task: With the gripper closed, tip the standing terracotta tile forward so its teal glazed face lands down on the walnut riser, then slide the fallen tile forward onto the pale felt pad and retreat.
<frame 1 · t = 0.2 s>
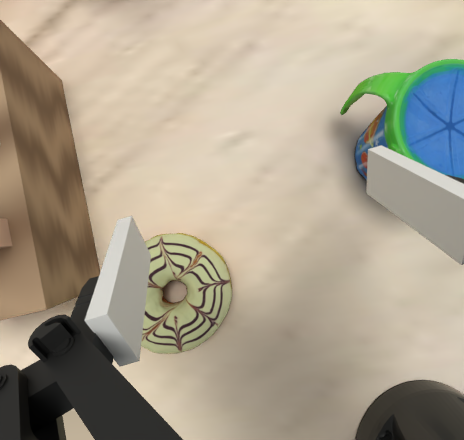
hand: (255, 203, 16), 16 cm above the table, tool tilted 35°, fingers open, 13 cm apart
decorated donut: (176, 287, 31), on the table
riser: (35, 190, 31), on the table
snack cup: (383, 158, 33), on the table
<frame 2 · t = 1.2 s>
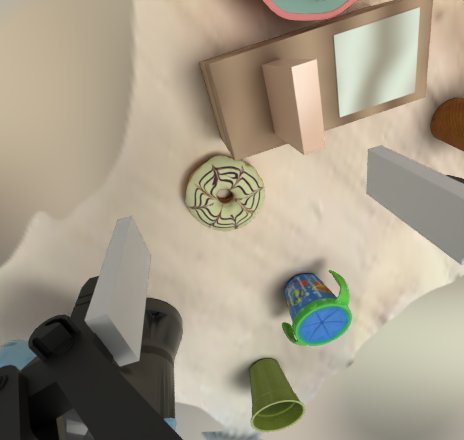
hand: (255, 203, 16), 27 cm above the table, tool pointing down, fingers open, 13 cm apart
plant pot: (263, 366, 70), on the table
decorated donut: (222, 188, 45), on the table
disposable coffee cup: (447, 118, 47), on the table
riser: (292, 76, 39), on the table
tile: (277, 98, 30), point 10 cm above the table, touching riser
snack cup: (300, 285, 59), on the table
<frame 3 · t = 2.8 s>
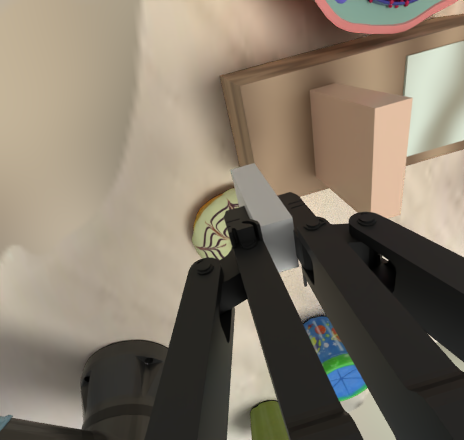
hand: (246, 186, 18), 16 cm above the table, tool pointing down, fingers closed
plant pot: (265, 408, 63), on the table
decorated donut: (236, 223, 38), on the table
riser: (331, 98, 32), on the table
tile: (324, 133, 23), point 10 cm above the table, touching riser
snack cup: (315, 327, 52), on the table
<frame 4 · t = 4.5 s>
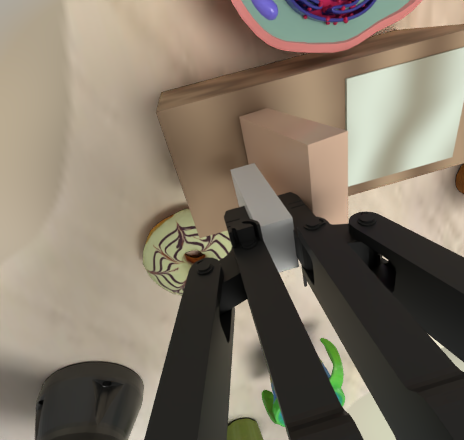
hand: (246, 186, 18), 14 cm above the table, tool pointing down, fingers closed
plant pot: (239, 425, 61), on the table
decorated donut: (194, 243, 36), on the table
riser: (287, 114, 30), on the table
tile: (261, 161, 21), point 10 cm above the table, tilted 10°, touching riser
snack cup: (286, 346, 50), on the table
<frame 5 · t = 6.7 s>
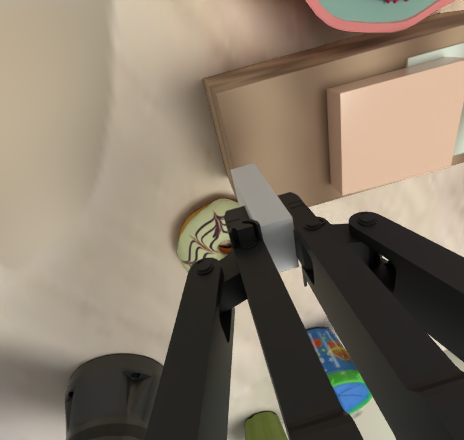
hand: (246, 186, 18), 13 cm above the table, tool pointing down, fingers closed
plant pot: (260, 419, 61), on the table
decorated donut: (225, 234, 36), on the table
riser: (325, 101, 29), on the table
tile: (334, 145, 20), point 11 cm above the table, tilted 88°, touching riser
snack cup: (311, 339, 50), on the table
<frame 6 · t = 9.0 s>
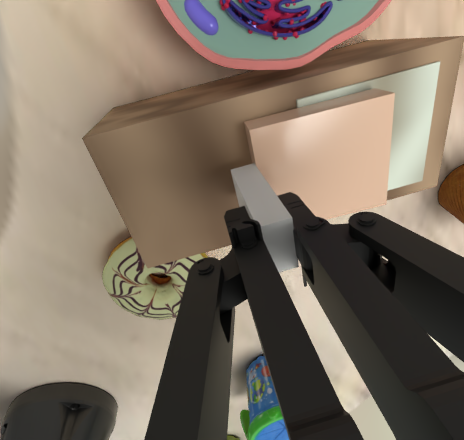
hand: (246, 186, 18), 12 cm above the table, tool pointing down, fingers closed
decorated donut: (161, 263, 34), on the table
disposable coffee cup: (460, 185, 36), on the table
riser: (252, 130, 28), on the table
tile: (257, 180, 18), point 11 cm above the table, tilted 87°, touching gripper
snack cup: (267, 364, 48), on the table
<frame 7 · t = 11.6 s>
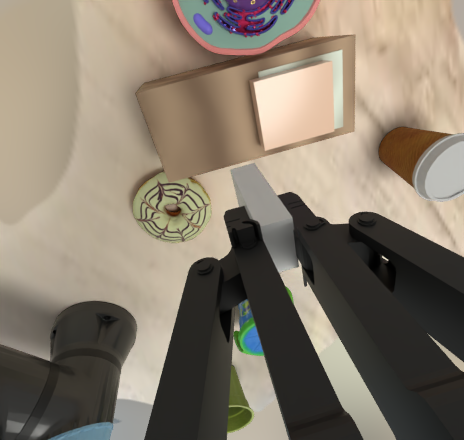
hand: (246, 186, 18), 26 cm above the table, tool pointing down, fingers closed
plant pot: (220, 370, 72), on the table
decorated donut: (173, 201, 47), on the table
disposable coffee cup: (395, 145, 48), on the table
riser: (238, 100, 40), on the table
tile: (257, 116, 31), point 11 cm above the table, tilted 90°, touching riser
snack cup: (254, 296, 61), on the table
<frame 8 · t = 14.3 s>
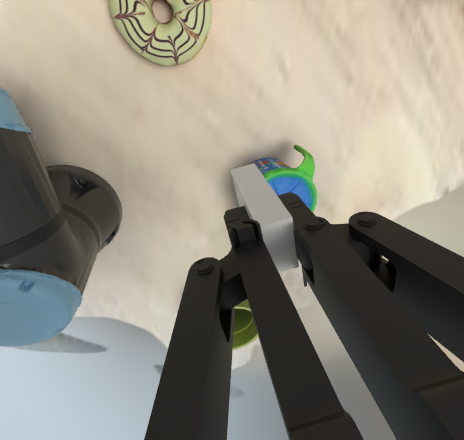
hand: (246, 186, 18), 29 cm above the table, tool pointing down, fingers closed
plant pot: (222, 286, 62), on the table
decorated donut: (163, 12, 37), on the table
snack cup: (264, 177, 51), on the table
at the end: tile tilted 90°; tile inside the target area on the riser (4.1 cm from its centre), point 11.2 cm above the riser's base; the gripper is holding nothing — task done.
